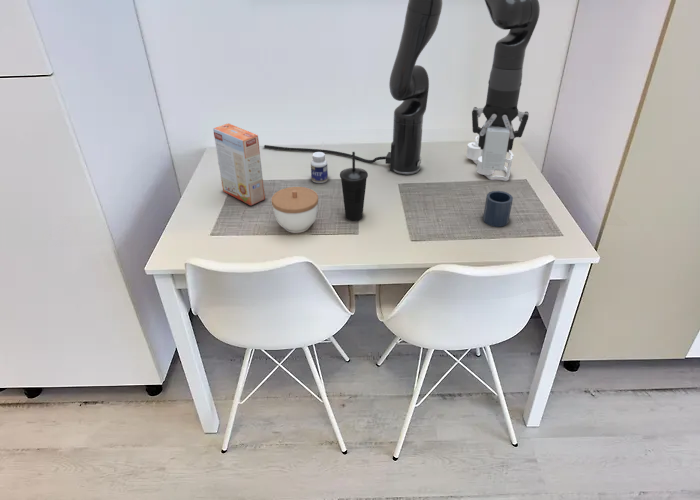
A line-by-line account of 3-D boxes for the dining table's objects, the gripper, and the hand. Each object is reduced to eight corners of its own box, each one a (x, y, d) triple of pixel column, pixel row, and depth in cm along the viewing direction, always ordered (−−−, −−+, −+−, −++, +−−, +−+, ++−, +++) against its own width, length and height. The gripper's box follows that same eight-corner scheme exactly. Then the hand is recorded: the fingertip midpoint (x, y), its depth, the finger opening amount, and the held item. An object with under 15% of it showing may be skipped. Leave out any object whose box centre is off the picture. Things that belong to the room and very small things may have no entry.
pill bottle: (308, 181, 171) (307, 156, 165) (315, 174, 174) (314, 149, 169) (323, 184, 169) (322, 159, 164) (330, 177, 173) (329, 152, 168)
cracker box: (266, 199, 162) (259, 134, 150) (250, 206, 158) (241, 140, 146) (238, 184, 169) (228, 121, 157) (222, 191, 166) (211, 127, 154)
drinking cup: (371, 213, 154) (372, 149, 143) (360, 226, 149) (360, 160, 137) (347, 207, 157) (346, 144, 145) (336, 220, 151) (334, 155, 140)
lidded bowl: (301, 243, 142) (299, 207, 136) (265, 230, 147) (260, 195, 141) (328, 221, 151) (327, 187, 144) (292, 210, 156) (289, 176, 150)
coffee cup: (481, 224, 149) (485, 201, 144) (484, 212, 154) (487, 189, 150) (507, 228, 147) (512, 204, 143) (509, 215, 152) (513, 192, 148)
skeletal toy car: (462, 155, 185) (464, 135, 181) (493, 153, 186) (496, 134, 182) (480, 182, 169) (483, 161, 165) (514, 180, 170) (518, 159, 166)
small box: (503, 171, 137) (510, 132, 131) (481, 169, 138) (486, 131, 132) (503, 158, 143) (509, 120, 137) (481, 156, 144) (487, 119, 138)
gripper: (535, 82, 130) (523, 146, 139) (475, 77, 133) (468, 141, 143) (535, 92, 124) (522, 158, 133) (472, 87, 127) (464, 152, 137)
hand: (494, 149), depth 138 cm, fingers closed on small box, 6 cm apart
